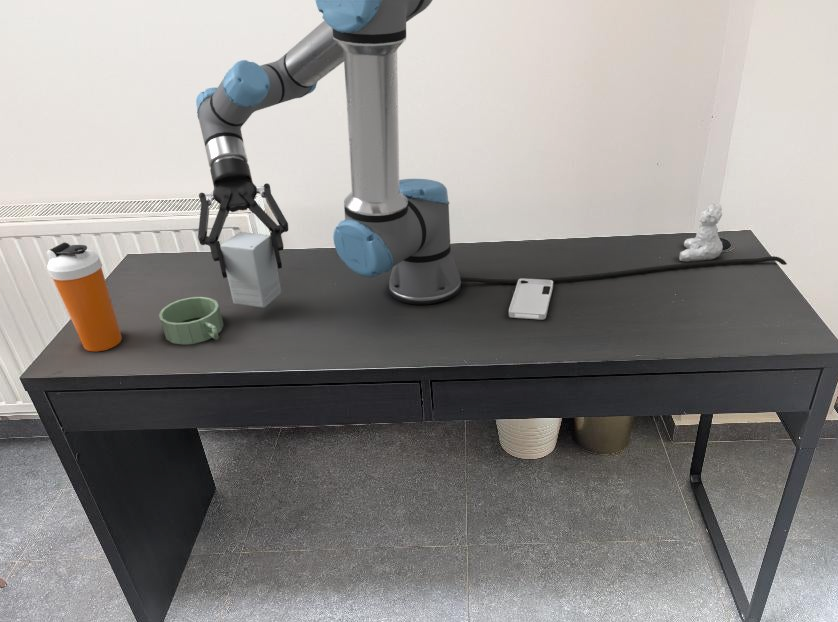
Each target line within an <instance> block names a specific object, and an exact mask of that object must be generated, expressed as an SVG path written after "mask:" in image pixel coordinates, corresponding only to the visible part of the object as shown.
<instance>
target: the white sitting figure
mask: <svg viewBox="0 0 838 622" xmlns="http://www.w3.org/2000/svg"><path fill="white" fill-rule="evenodd" d="M722 208H723V207H722V205H721V204H719V205H717V204H715V203H711V204H708V206H707V208H706V209H705V210H703V211H701V215H700V216H699V218H698V221H699V222H700V224H699V226H698V228H697V230H696V233H695V237H691V238H686V239H685V240H684V242H683V247H684V248H686V249H684V250H682V251H680V252H679V256H678V257H679V261H680V262H683V263H691V262H703V261H714V260H716V259H717V258H718V257H720V255H721V254H722V252H723V250H724V249H723V248H724V246H723V241H721V239H720V237H719V227H718V226H717V224H719V221H721V218H722V217H723V211H722V210H723V209H722Z"/></svg>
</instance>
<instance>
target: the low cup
mask: <svg viewBox="0 0 838 622" xmlns="http://www.w3.org/2000/svg"><path fill="white" fill-rule="evenodd" d="M158 317H159V320H160V324H161V327H162V330H163V333H164V336H165V337H164V338H165V339H166V340H167V341H168V342H169V343H172V344H175V345H194V344H199V343H202V342H206V341H209V340H210V339H213V340H219V339H220V335H219V334H220V333H221V332H222V330H223V328H224V326H225V324H224V321H223V317H222V313H221V309H220V305H219V303H218V301H217V300H215V299H213V298H212V297H206V296H192V297H187V298H182V299H181V298H180V299H178V300H176V301H173V302H171V303H169V304H167V305H166V306H164V307H163V308H162V309H161V311H159V314H158ZM193 319H194V320H193ZM191 320H192V321H191Z"/></svg>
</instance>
